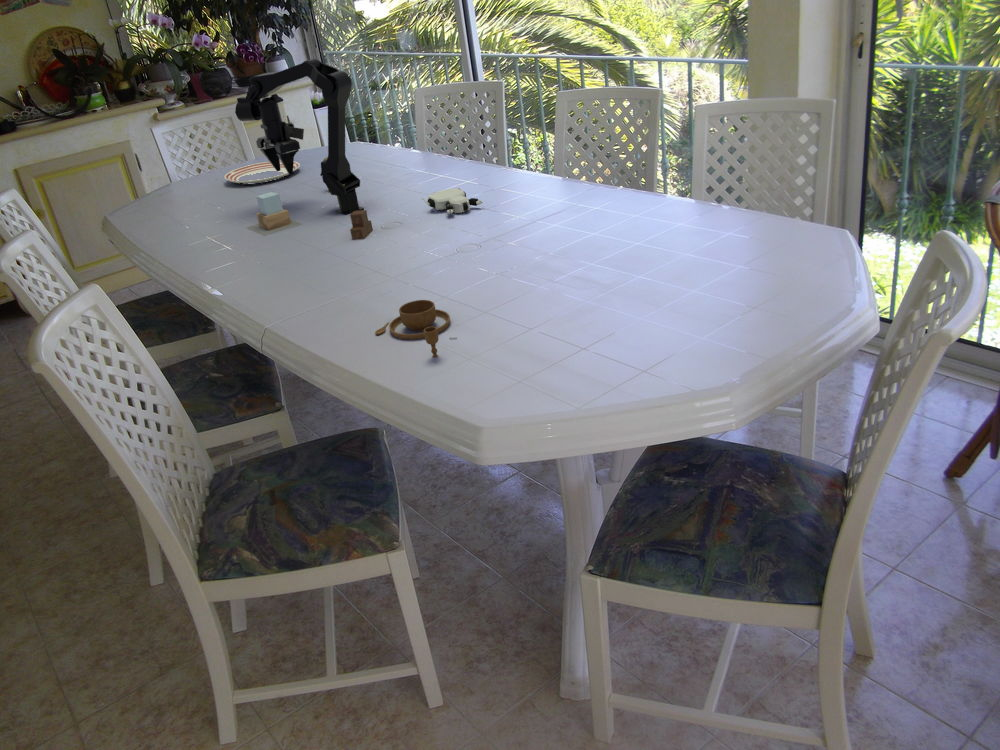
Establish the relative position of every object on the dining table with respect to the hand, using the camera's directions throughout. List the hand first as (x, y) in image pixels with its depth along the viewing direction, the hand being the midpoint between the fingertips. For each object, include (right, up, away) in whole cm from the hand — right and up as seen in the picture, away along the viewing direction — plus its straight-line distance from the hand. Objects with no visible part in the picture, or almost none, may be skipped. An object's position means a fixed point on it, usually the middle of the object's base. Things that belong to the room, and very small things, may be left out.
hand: (284, 172), depth 246 cm
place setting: (+49, -54, -90) cm, 115 cm away
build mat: (-1, -18, -7) cm, 19 cm away
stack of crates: (+29, -24, -26) cm, 46 cm away
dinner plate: (-22, +12, +56) cm, 61 cm away
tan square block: (-1, -17, -7) cm, 19 cm away
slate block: (-1, -14, -9) cm, 16 cm away
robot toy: (+52, -15, -16) cm, 56 cm away
